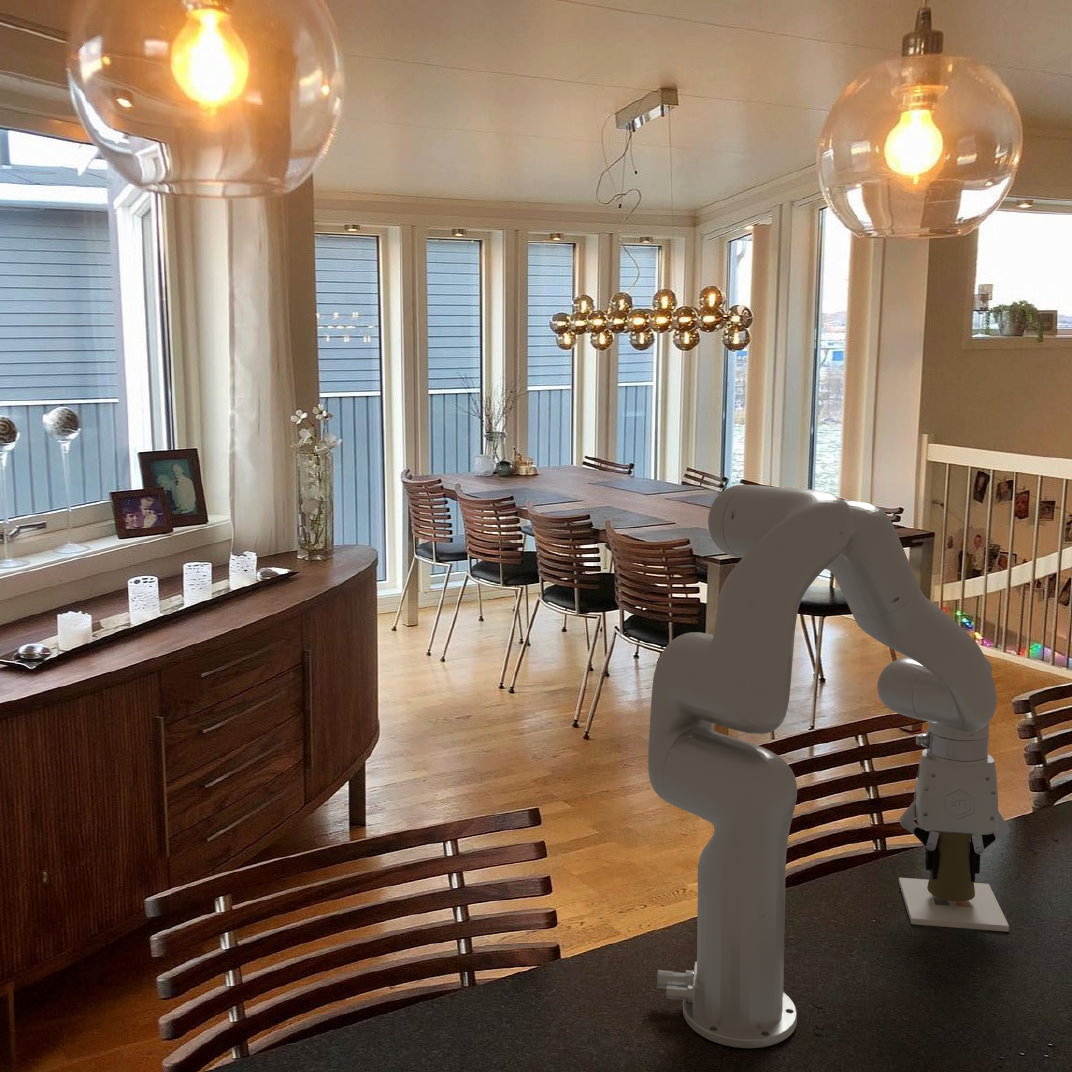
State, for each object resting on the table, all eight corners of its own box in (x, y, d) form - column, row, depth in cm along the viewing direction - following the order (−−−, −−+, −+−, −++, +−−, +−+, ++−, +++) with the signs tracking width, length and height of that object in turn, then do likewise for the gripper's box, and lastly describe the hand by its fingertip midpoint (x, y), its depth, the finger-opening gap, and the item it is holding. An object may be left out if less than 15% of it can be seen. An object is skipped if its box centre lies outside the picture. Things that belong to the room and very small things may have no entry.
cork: (982, 901, 143) (986, 822, 141) (936, 901, 143) (939, 822, 142) (965, 881, 149) (968, 804, 147) (921, 881, 149) (924, 804, 148)
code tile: (911, 924, 142) (911, 918, 142) (898, 882, 153) (898, 877, 153) (1008, 931, 139) (1009, 925, 139) (988, 889, 151) (988, 883, 151)
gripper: (895, 751, 141) (890, 884, 144) (1032, 758, 138) (1024, 894, 140) (888, 733, 148) (883, 860, 151) (1017, 739, 145) (1011, 869, 148)
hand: (951, 875), depth 146 cm, fingers closed on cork, 4 cm apart
